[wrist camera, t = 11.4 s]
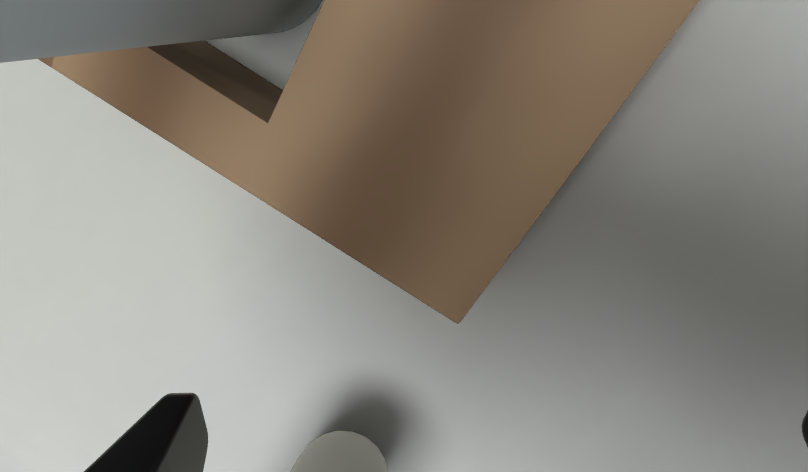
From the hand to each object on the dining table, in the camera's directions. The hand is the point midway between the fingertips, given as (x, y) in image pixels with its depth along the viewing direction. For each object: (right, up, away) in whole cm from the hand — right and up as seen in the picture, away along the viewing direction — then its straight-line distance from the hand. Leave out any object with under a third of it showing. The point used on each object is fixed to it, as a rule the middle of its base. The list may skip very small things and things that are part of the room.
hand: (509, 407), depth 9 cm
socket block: (-3, +9, +9) cm, 14 cm away
